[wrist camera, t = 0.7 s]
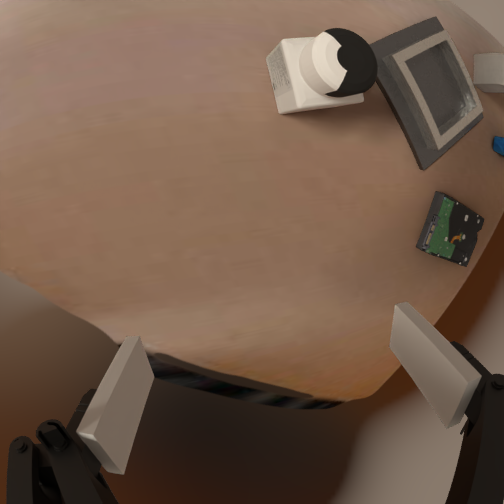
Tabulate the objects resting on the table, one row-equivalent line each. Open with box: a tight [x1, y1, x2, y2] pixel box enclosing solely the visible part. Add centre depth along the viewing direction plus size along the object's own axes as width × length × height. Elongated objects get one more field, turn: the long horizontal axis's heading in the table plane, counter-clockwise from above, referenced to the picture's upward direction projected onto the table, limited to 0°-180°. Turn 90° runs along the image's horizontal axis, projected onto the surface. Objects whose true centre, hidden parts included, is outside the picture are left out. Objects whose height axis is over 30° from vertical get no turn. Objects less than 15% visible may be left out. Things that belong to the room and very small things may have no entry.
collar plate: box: [369, 17, 483, 170], centre depth 32 cm, size 20×20×4 cm
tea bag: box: [473, 52, 504, 93], centre depth 29 cm, size 4×7×10 cm, turn 170°
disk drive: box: [416, 191, 484, 267], centre depth 43 cm, size 10×3×15 cm
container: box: [266, 28, 378, 114], centre depth 25 cm, size 8×8×13 cm
